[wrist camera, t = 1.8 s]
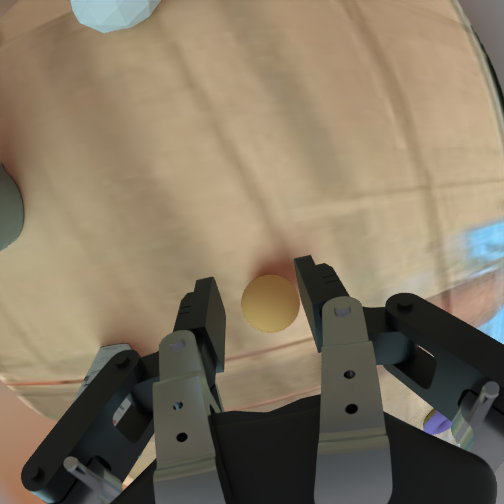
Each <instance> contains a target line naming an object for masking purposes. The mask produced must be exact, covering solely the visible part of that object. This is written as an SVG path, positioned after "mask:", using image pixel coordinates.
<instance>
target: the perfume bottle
mask: <svg viewBox="0 0 504 504" xmlns="http://www.w3.org/2000/svg"><path fill="white" fill-rule="evenodd" d="M70 1H71V6H72V11H73V13H74V14H75V16H76V18H77V19H78V21H79V22H80V23H81V24H83V25H86V26H88V27H91V28H93V29H95V30H97V31H100V32H102V33H107V32H112V31H116V30H122V29H127V28H131V27H133V26H135V25H136V24H138V23H140V22H141V21H143V20H145V19H146V18H148V17H150V15H151V14H152V12H153V11H154V10H155V8H156V7H157V5H158V4H159V3H160V1H161V0H70Z"/></svg>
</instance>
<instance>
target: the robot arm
mask: <svg viewBox="0 0 504 504" xmlns="http://www.w3.org/2000/svg"><path fill="white" fill-rule="evenodd" d="M23 218H24V213H23V204H22V199H21V196H20V193H19V190H18V188H17V186H16V184H15V182H14V181H13V180H12V178H11V177H10V176H9V175H8V174H7V173H6V172H5V171H4V169H3V165H2V163H0V251H2V250H3V249H5V248H6V247H7V246H8V245H10V244H11V243H12V242H14V241H15V240H16V239H17V238H18V236H19V234H20V232H21V230H22V226H23ZM294 264H295V270H296V276H297V281H298V287H299V293H300V297H301V301H302V304H303V307H304V310H305V313H306V316H307V319H308V322H309V325H310V328H311V331H312V334H313V338H314V341H315V344H316V347H317V350H318V353H321V394H319V395H315V396H311V397H306V398H302V399H299V400H297V401H295V402H292V403H290V404H288V405H285V406H283V407H280V408H278V409H275V410H273V411H270V412H245V411H228V412H224V408H223V405H222V401H221V397H220V394H219V390H218V386H217V384H216V382H215V375H216V373H220V372H224V358H225V330H226V315H225V309H224V306H223V303H222V300H221V297H220V293H219V290H218V287H217V284H216V281H215V279H214V277H208V278H204V279H199V280H196V284H195V288H194V292H190V293H187V294H186V295H185V297H184V298H183V299H182V300H181V303H180V307H179V308H180V309H179V311H178V315H177V318H176V322H175V326H174V330H173V332H172V333H170V334H169V335H167V336H166V337H164V338H163V339H162V341H161V342H160V344H159V351H157V352H155V353H153V354H150V355H147V356H145V357H142V358H141V357H140V356H139V354H138V352H137V351H135V350H123V351H121V352H118V353H117V354H115V355H114V356H113V357H112V358H111V359H110V360H109V361H108V362H107V363H106V364H105V366H104V367H103V368H102V369H101V370H100V371H99V373H98V374H97V375H96V376H95V377H94V379H93V380H92V381H91V382H90V383H89V385H88V386H87V387H86V388H85V389H84V391H83V392H82V393H81V394H80V395H79V397H78V398H77V399H76V400H75V402H74V403H73V404H72V405H71V407H70V408H69V409H68V410H67V411H66V413H65V414H64V415H63V416H62V418H61V419H60V420H59V421H58V423H57V424H56V425H55V426H54V428H53V429H52V430H51V431H50V433H49V434H48V435H47V437H46V438H45V439H44V440H43V442H42V443H41V444H40V445H39V447H38V448H37V450H36V451H35V452H34V454H33V455H32V456H31V457H30V458H29V460H28V461H27V462H26V464H25V465H24V467H23V469H22V473H21V480H22V483H23V485H24V487H25V488H26V489H27V490H29V491H30V492H32V493H33V494H35V495H36V496H38V497H39V498H41V499H42V500H43V501H44V502H46V503H47V504H495V503H496V497H497V482H496V477H495V474H494V473H495V471H496V470H497V468H499V466H500V465H501V464H502V462H503V461H504V345H503V344H502V343H500V342H498V341H497V340H495V339H493V338H492V337H490V336H488V335H486V334H485V333H483V332H481V331H480V330H478V329H476V328H474V327H473V326H471V325H469V324H467V323H466V322H464V321H462V320H460V319H459V318H457V317H455V316H453V315H451V314H450V313H448V312H446V311H444V310H443V309H441V308H439V307H437V306H435V305H434V304H432V303H430V302H428V301H426V300H424V299H423V298H421V297H419V296H417V295H415V294H411V293H399V294H395V295H393V296H391V297H390V298H389V299H388V300H387V301H386V306H385V307H376V308H369V307H363V306H362V304H361V303H360V301H359V300H357V299H355V298H353V297H350V296H349V294H348V292H347V291H346V289H345V287H344V286H343V284H342V282H341V281H340V279H339V277H338V276H337V274H336V272H335V271H334V269H333V267H331V266H329V265H327V264H325V263H323V264H318V265H315V263H314V261H313V259H312V257H311V255H308V256H303V257H299V258H295V259H294ZM418 346H421V347H422V348H424V349H425V350H427V351H428V352H429V353H431V354H432V355H433V356H434V357H433V356H431V355H430V354H428V353H427V352H425V351H424V350H422V349H421V348H420V347H418ZM376 365H383V366H384V368H385V369H386V370H387V371H389V372H390V373H391V374H392V375H394V376H395V377H396V378H397V379H399V380H400V381H401V382H402V383H403V384H405V385H406V386H407V387H408V388H410V389H411V390H412V391H413V392H415V393H416V394H417V395H418V396H420V397H421V398H422V399H423V400H425V401H426V402H427V403H428V404H430V405H431V406H432V407H433V408H435V409H436V410H437V411H438V412H440V413H441V414H442V415H443V416H445V417H446V418H447V419H448V420H450V421H451V422H452V424H451V432H452V435H453V437H454V438H455V440H456V443H457V444H458V445H460V447H461V448H460V447H457V446H455V445H453V444H450V443H448V442H446V441H444V440H441V439H439V438H437V437H435V436H433V435H431V434H429V433H426V432H424V431H422V430H420V429H418V428H416V427H414V426H412V425H410V424H408V423H406V422H404V421H402V420H400V419H398V418H396V417H394V416H392V415H390V414H388V413H386V412H384V411H383V405H382V398H381V391H380V384H379V378H378V372H377V366H376ZM126 397H127V399H128V400H129V401H130V403H131V405H130V406H129V408H128V409H127V411H126V412H125V413H124V415H123V416H122V418H121V419H120V420H119V422H118V423H117V425H116V426H114V424H113V416H114V414H115V412H116V411H117V409H118V408H119V406H120V405H121V404H122V402H123V401H124V400H125V398H126ZM154 432H155V446H156V459H155V460H154V461H153V462H152V463H151V464H150V465H149V466H148V467H147V468H146V469H145V470H144V471H143V472H142V473H141V474H140V475H139V476H138V477H137V478H136V479H135V480H134V481H133V482H132V483H131V484H130V485H129V486H127V488H125V489H124V490H123V488H122V483H123V482H124V480H125V479H126V477H127V475H128V474H129V472H130V471H131V469H132V468H133V466H134V464H135V463H136V461H137V460H138V458H139V456H140V455H141V453H142V452H143V450H144V448H145V447H146V445H147V443H148V442H149V440H150V439H151V437H152V435H153V434H154ZM122 490H123V491H122Z"/></svg>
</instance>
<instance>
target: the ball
mask: <svg viewBox="0 0 504 504" xmlns="http://www.w3.org/2000/svg"><path fill="white" fill-rule="evenodd" d="M241 307H242V312H243V315H244V317H245V319H246V320H247V322H248V323H249V324H250V325H251V326H252V327H254V328H255V329H257V330H259V331H262V332H267V333H274V332H279V331H281V330H284V329H286V328H287V327H288V326H290V325H291V324H292V323H293V321H294V320H295V319H296V317H297V315H298V312H299V308H300V299H299V295H298V292H297V290H296V288H295V287H294V285H293V284H292V283H291V282H290V281H289V280H287V279H285V278H284V277H282V276H278V275H272V274H270V275H263V276H260V277H258V278H256V279H254V280H253V281H252V282H250V283H249V285H248V286H247V287H246V289H245V290H244V293H243V295H242V300H241Z"/></svg>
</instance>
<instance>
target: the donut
mask: <svg viewBox="0 0 504 504" xmlns="http://www.w3.org/2000/svg"><path fill="white" fill-rule="evenodd" d="M451 424H452V422H451V421H450V420H448V419H447V418H446V417H445V416H443V415H442V414H441V413H440V412H438V411H437V410H436V409H434V410H433V411H431V412H430V413H429V414H428V416H427V417H426V418H425V420H424V423H423V429H424V431H425V432H426V433H429V434H431V435H434V434H439V433H441V432H444V431H445V430H447V429H449V428H450V427H451Z"/></svg>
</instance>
